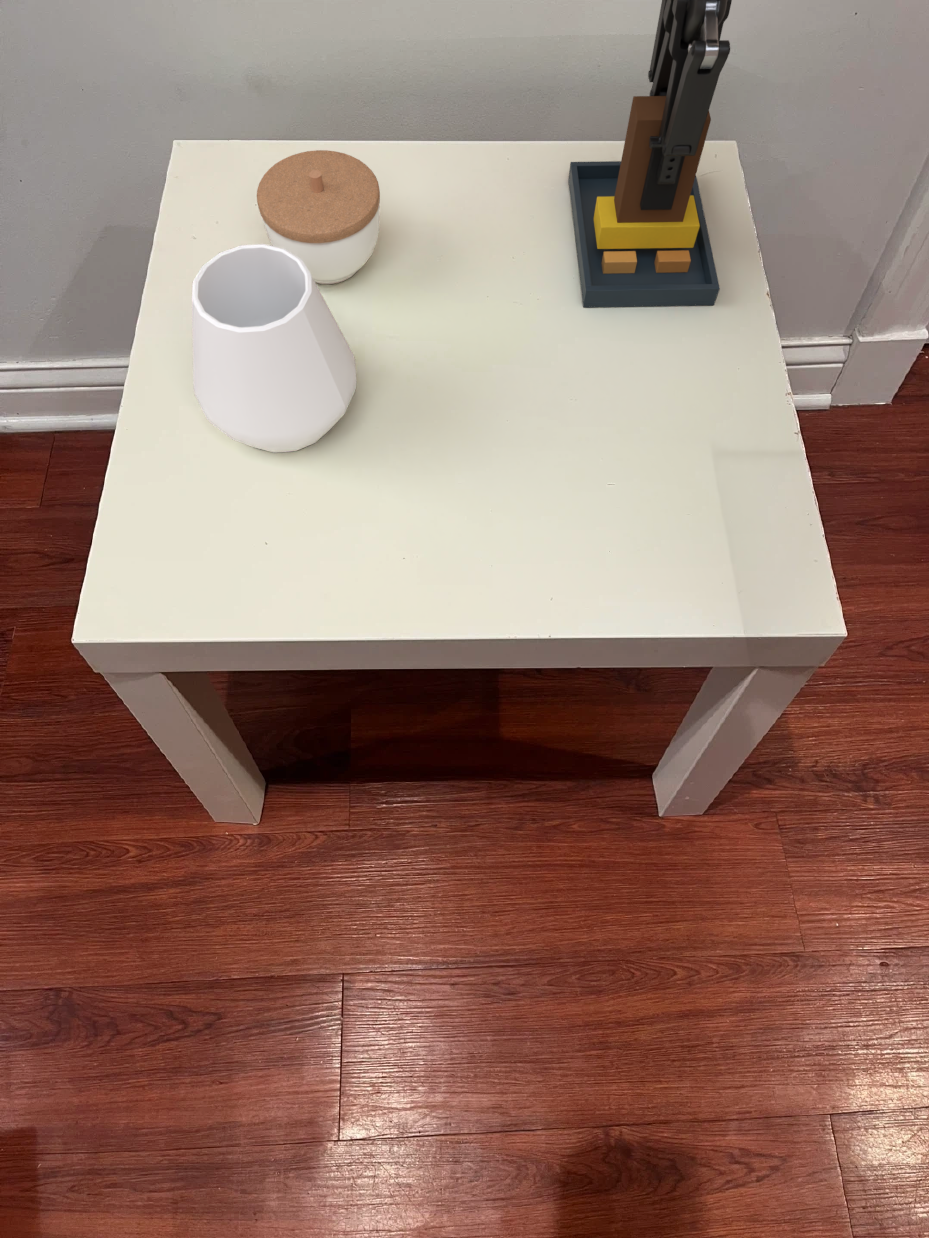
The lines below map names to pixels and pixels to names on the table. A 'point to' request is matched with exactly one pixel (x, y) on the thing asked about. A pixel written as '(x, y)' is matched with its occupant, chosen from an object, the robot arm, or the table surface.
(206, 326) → the white vase
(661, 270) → the crumb
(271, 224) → the trinket box
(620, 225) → the brush
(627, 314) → the table surface
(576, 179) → the tray
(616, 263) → the crumb
